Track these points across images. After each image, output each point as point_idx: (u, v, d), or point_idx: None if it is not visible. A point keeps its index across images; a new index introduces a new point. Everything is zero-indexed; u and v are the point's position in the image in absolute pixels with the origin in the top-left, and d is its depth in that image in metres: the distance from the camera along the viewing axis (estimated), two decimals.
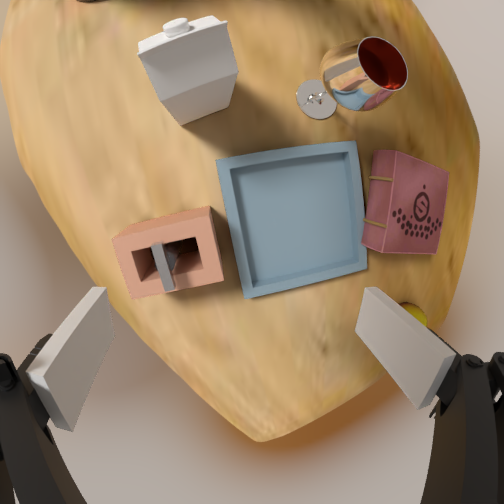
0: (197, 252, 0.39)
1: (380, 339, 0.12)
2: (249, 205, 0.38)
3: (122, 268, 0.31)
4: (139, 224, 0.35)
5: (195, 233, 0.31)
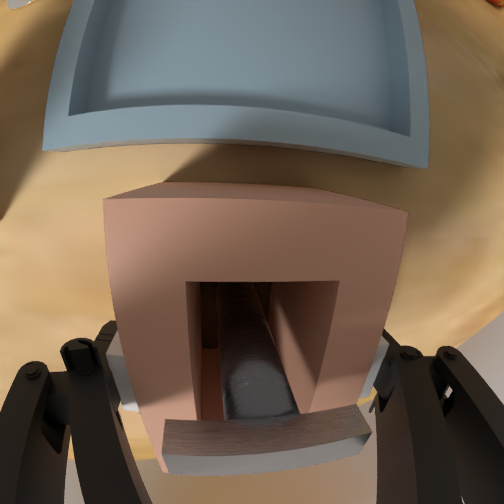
0: None
1: None
2: (188, 79, 0.12)
3: None
4: None
5: (171, 278, 0.07)
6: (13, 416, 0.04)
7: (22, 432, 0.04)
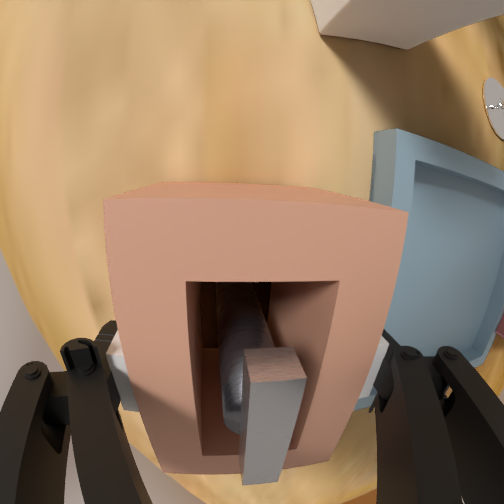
0: None
1: None
2: (406, 246, 0.17)
3: None
4: None
5: (172, 278, 0.07)
6: (13, 416, 0.04)
7: (22, 432, 0.04)
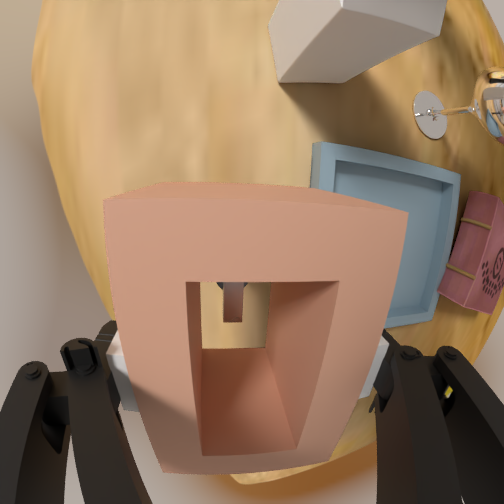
0: None
1: None
2: None
3: (243, 471, 0.10)
4: None
5: (172, 278, 0.07)
6: (13, 416, 0.04)
7: (22, 432, 0.04)
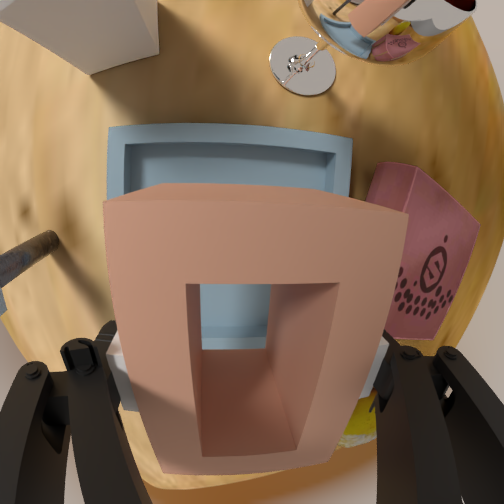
0: None
1: None
2: None
3: (243, 472, 0.10)
4: None
5: (171, 280, 0.07)
6: (13, 416, 0.04)
7: (22, 432, 0.04)
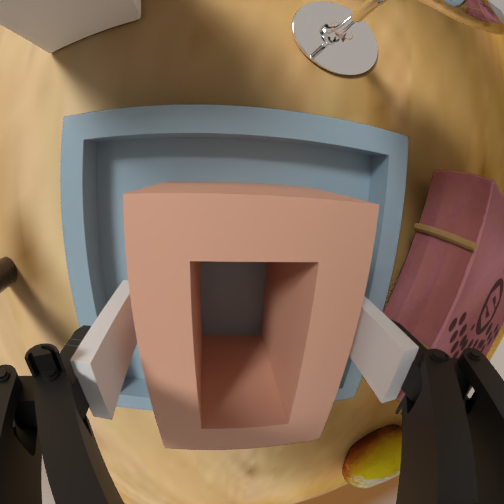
0: None
1: None
2: None
3: (240, 446, 0.11)
4: None
5: (178, 258, 0.08)
6: None
7: None
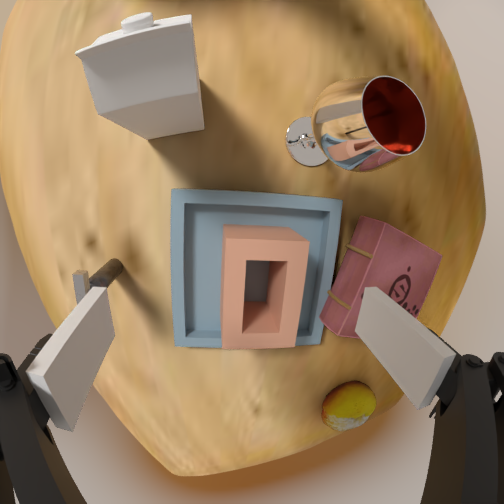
0: None
1: (380, 339, 0.12)
2: (200, 248, 0.33)
3: (257, 347, 0.29)
4: None
5: (242, 259, 0.26)
6: None
7: None
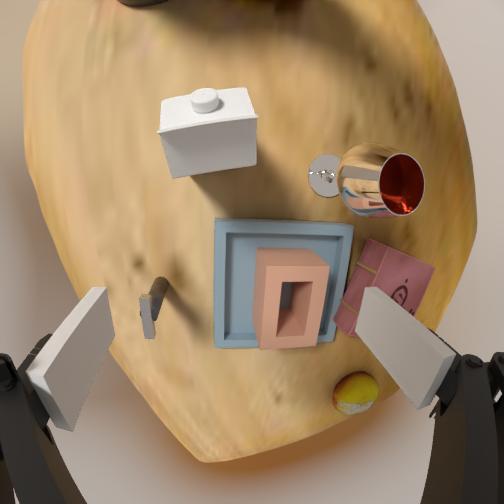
0: None
1: (380, 339, 0.12)
2: (237, 267, 0.40)
3: (287, 346, 0.36)
4: (254, 315, 0.41)
5: (279, 281, 0.33)
6: None
7: None
